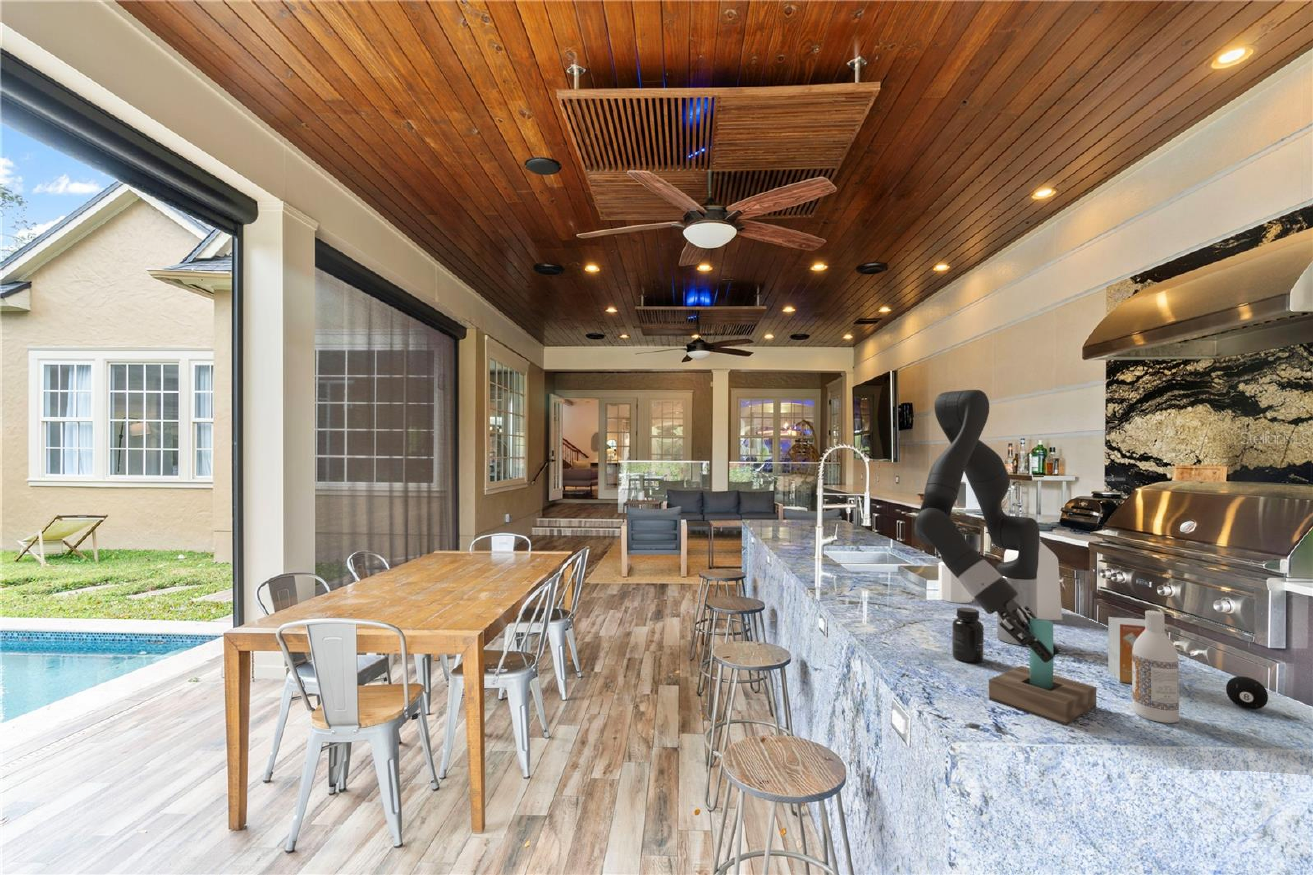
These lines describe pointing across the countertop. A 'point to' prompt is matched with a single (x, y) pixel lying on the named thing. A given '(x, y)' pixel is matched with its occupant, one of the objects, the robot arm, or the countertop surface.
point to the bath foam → (1155, 672)
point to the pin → (1038, 669)
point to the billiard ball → (1247, 692)
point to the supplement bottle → (968, 636)
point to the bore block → (1043, 696)
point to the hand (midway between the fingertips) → (1052, 657)
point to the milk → (1045, 583)
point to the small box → (1122, 646)
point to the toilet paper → (951, 587)
